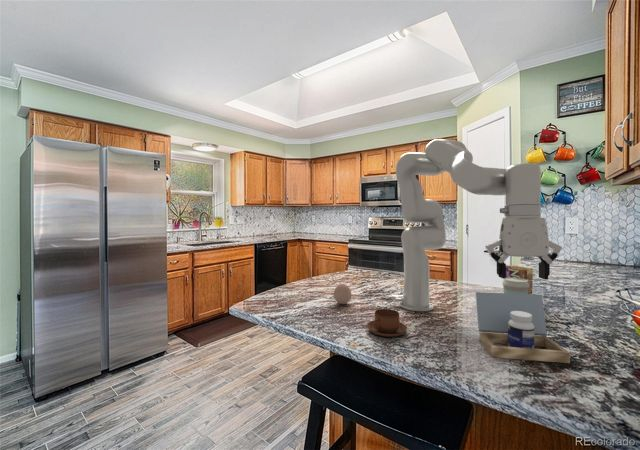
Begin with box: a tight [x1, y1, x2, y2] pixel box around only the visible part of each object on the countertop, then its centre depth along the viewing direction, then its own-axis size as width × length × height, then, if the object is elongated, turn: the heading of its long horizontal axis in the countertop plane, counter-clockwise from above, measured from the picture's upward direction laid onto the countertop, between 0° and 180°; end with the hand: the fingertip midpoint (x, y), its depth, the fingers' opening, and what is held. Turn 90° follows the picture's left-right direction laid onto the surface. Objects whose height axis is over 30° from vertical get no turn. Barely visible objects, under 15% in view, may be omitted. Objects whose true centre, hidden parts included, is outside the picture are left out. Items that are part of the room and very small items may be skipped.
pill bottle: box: [507, 311, 535, 349], centre depth 78 cm, size 6×6×10 cm
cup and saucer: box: [366, 308, 408, 338], centre depth 91 cm, size 12×12×6 cm
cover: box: [475, 291, 548, 337], centre depth 84 cm, size 17×11×1 cm
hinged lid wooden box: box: [478, 331, 571, 364], centre depth 78 cm, size 17×10×2 cm, turn 79°
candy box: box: [506, 264, 534, 294], centre depth 118 cm, size 9×4×15 cm, turn 26°
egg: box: [333, 283, 352, 305], centre depth 121 cm, size 7×7×8 cm
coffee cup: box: [501, 278, 530, 294], centre depth 109 cm, size 8×9×12 cm
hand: (522, 278), depth 77 cm, fingers open, 9 cm apart
